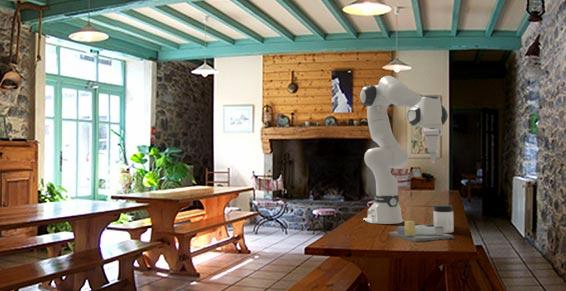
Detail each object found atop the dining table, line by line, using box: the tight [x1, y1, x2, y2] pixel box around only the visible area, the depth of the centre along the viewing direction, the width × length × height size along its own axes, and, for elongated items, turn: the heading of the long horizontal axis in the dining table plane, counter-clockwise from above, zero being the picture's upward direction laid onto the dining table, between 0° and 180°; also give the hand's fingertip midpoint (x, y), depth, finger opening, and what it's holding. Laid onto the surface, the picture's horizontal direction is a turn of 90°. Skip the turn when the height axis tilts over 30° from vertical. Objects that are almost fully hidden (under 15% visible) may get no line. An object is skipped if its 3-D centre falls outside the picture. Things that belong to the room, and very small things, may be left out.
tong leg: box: [415, 226, 445, 235], centre depth 235 cm, size 12×2×3 cm, turn 81°
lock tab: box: [404, 220, 416, 236], centre depth 232 cm, size 3×3×6 cm
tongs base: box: [397, 223, 434, 236], centre depth 239 cm, size 6×17×3 cm, turn 111°
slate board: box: [388, 230, 454, 242], centre depth 238 cm, size 20×19×1 cm
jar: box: [432, 204, 455, 234], centre depth 251 cm, size 9×8×12 cm
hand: (433, 163), depth 240 cm, fingers open, 8 cm apart
